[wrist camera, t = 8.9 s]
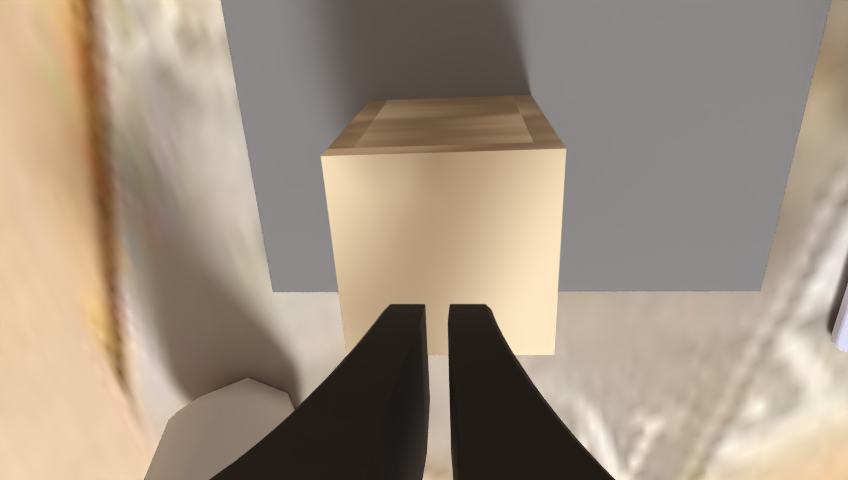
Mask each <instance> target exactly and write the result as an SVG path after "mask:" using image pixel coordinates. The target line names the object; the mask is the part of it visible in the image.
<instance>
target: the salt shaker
mask: <svg viewBox="0 0 848 480" xmlns="http://www.w3.org/2000/svg"><path fill="white" fill-rule="evenodd" d="M294 410H295V409H294V407H293V404H292V402H291V400H290V398H289V395H288V393H287V392H284V391H281V390H279V389H276V388H274V387H271V386H269V385H266V384H264V383H261V382H259V381H256V380H254V379H251V378H248V377H247V378H245V379H242V380H240V381H237V382H235V383H232V384H230V385H227V386H225V387H223V388H220V389H218V390H215V391H213V392H210V393H208V394H206V395H203V396H201V397H198V398H197V399H195V400H194V401H192V402H191V403H189V404H188V405H187V406H185V407H184V408H182V409H181V410H179V411H178V412H177V413H176V414H175V415H174V416H173V417H172V418H171V419H170V420H169V421H168V423H167V426H166V428H165V430H164V433H163V435H162V438H161V440H160V442H159V445H158V447H157V450H156V452H155V454H154V457H153V459H152V462H151V464H150V466H149V469H148V471H147V474H146V476H145V478H144V480H209V479H211V478H212V477H213V476H215V475H216V474H218V473H219V472H220V471H222V470H223V469H225V468H226V467H227V466H229V465H230V464H232V463H233V462H234V461H236V460H237V459H238V458H239V457H241V456H242V455H243V454H245V453H246V452H247V451H248V450H250V449H251V448H252V447H253V446H254V445H256V444H257V443H258V442H259V441H260V440H262V439H263V438H264V437H265V436H267V435H268V434H269V433H270V432H271V431H272V430H273V429H275V428H276V427H277V426H278V425H279V424H280V423H281V422H282V421H283V420H285V419H286V418H287V417H288V416H289V415H290V414H291V413H292V412H293V411H294Z"/></svg>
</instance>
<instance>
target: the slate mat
mask: <svg viewBox="0 0 848 480" xmlns="http://www.w3.org/2000/svg"><path fill="white" fill-rule="evenodd" d="M221 4H222V10H223V16H224V21H225V27H226V32H227V38H228V43H229V49H230V55H231V60H232V66H233V71H234V77H235V83H236V88H237V94H238V99H239V105H240V111H241V116H242V122H243V127H244V133H245V139H246V144H247V150H248V155H249V161H250V167H251V172H252V178H253V183H254V189H255V194H256V200H257V206H258V211H259V217H260V222H261V228H262V234H263V239H264V245H265V250H266V256H267V262H268V267H269V273H270V278H271V284H272V290H273V292H339V291H338V284H337V276H336V268H335V261H334V253H333V246H332V238H331V230H330V223H329V215H328V207H327V200H326V192H325V184H324V177H323V169H322V162H321V155H322V154H323V153H324V152H325V151H326V150H327V149H328V147H329V146H330V145H331V144H332V143H333V142H334V141H335V139H336V138H337V137H338V136H339V135H340V134H341V133H342V132H343V130H344V129H345V128H346V127H347V126H348V125H349V124H350V123H351V121H352V120H353V119H354V118H355V117H356V116H357V115H358V113H359V112H360V111H361V110H362V109H363V108H364V107H365V106H366V104H367V103H368V102H369V101H379V100H405V99H431V98H457V97H482V96H508V95H532V97H533V98H534V100H535V101H536V103H537V104H538V106H539V107H540V109H541V110H542V112H543V114H544V115H545V117H546V118H547V120H548V121H549V123H550V124H551V126H552V127H553V129H554V131H555V132H556V134H557V135H558V137H559V138H560V140H561V141H562V143H563V144H564V146H565V148H566V162H565V179H564V196H563V213H562V230H561V247H560V264H559V281H558V291H761V287H762V283H763V279H764V275H765V271H766V266H767V262H768V258H769V254H770V250H771V246H772V242H773V238H774V234H775V229H776V225H777V221H778V217H779V213H780V209H781V205H782V201H783V197H784V193H785V188H786V184H787V180H788V176H789V172H790V168H791V164H792V160H793V156H794V152H795V147H796V143H797V139H798V135H799V131H800V127H801V123H802V119H803V115H804V110H805V106H806V102H807V98H808V94H809V90H810V86H811V82H812V78H813V74H814V69H815V65H816V61H817V57H818V53H819V49H820V45H821V41H822V37H823V33H824V28H825V24H826V20H827V16H828V12H829V8H830V4H831V0H221Z"/></svg>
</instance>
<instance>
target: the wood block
mask: <svg viewBox="0 0 848 480" xmlns="http://www.w3.org/2000/svg"><path fill="white" fill-rule="evenodd" d="M321 162H322V169H323V177H324V184H325V192H326V200H327V207H328V215H329V223H330V230H331V238H332V246H333V253H334V261H335V268H336V276H337V284H338V291H339V299H340V307H341V314H342V322H343V330H344V337H345V345H346V352H347V355H348V354H349V353H350V352H351V350H352V349H353V348H354V347H355V346H356V345H357V343H358V342H359V341H360V340H361V339H362V337H363V336H364V335H365V334H366V333H367V331H368V330H369V329H370V328H371V326H372V325H373V324H374V322H375V321H376V320H377V319H378V317H379V316H380V315H381V313H382V312H383V311H384V310H385V309H386V308H387V307H388V306H389V305H390V304H425V307H426V328H427V350H428V355H449V353H448V315H449V306H450V304H486V305H487V306H488V307H489V308H490V309H491V310H492V312H493V315H494V317H495V320H496V322H497V324H498V326H499V328H500V330H501V332H502V334H503V336H504V338H505V340H506V341H507V343H508V345H509V347H510V348H511V350H512V352H513V353H514V355H554V349H555V332H556V315H557V298H558V281H559V264H560V247H561V230H562V213H563V196H564V179H565V162H566V148H565V146H564V144H563V143H562V141H561V140H560V138H559V137H558V135H557V134H556V132H555V131H554V129H553V127H552V126H551V124H550V123H549V121H548V120H547V118H546V117H545V115H544V114H543V112H542V110H541V109H540V107H539V106H538V104H537V103H536V101H535V100H534V98H533V97H532V95H508V96H482V97H457V98H431V99H405V100H379V101H369V102H368V103H367V104H366V106H365V107H364V108H363V109H362V110H361V111H360V112H359V113H358V115H357V116H356V117H355V118H354V119H353V120H352V121H351V123H350V124H349V125H348V126H347V127H346V128H345V129H344V130H343V132H342V133H341V134H340V135H339V136H338V137H337V138H336V139H335V141H334V142H333V143H332V144H331V145H330V146H329V147H328V149H327V150H326V151H325V152H324V153H323V154H322V155H321Z"/></svg>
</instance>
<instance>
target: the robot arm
mask: <svg viewBox="0 0 848 480" xmlns="http://www.w3.org/2000/svg"><path fill="white" fill-rule="evenodd" d="M831 341H832V343H833V344H834V345H835V346H836V347H837V348H838V349H840V350H841V351H846V352H848V284H847V288H846V291H845V294H844V297H843V300H842V303H841V306H840V310H839V313H838V316H837V319H836V322H835V325H834V329H833V332H832V335H831ZM448 353H449V389H450V424H451V455H452V468H453V480H615V479H614V478H613V477H612V476H611V475H610V474H609V473H608V472H607V471H606V470H605V469H604V468H603V467H602V466H601V465H600V464H599V463H598V461H597V460H596V459H595V458H594V457H593V456H592V455H591V454H590V453H589V452H588V451H587V450H586V448H585V447H584V446H583V445H582V444H581V443H580V442H579V441H578V440H577V438H576V437H575V436H574V435H573V434H572V433H571V431H570V430H569V429H568V428H567V427H566V425H565V424H564V423H563V422H562V421H561V419H560V418H559V417H558V416H557V414H556V413H555V412H554V410H553V409H552V408H551V407H550V405H549V404H548V403H547V401H546V400H545V399H544V398H543V396H542V395H541V393H540V392H539V391H538V389H537V388H536V387H535V385H534V384H533V382H532V381H531V379H530V378H529V376H528V375H527V373H526V372H525V370H524V369H523V367H522V366H521V364H520V363H519V361H518V360H517V358H516V357H515V355H514V353H513V352H512V350H511V348H510V347H509V345H508V343H507V341H506V340H505V338H504V336H503V334H502V332H501V330H500V328H499V326H498V324H497V322H496V320H495V317H494V315H493V312H492V310H491V309H490V308H489V307H488V306H487V305H486V304H450V306H449V315H448ZM429 404H430V392H429V371H428V350H427V328H426V307H425V304H390V305H389V306H388V307H387V308H386V309H385V310H384V311H383V312H382V313H381V315H380V316H379V317H378V319H377V320H376V321H375V322H374V324H373V325H372V326H371V328H370V329H369V330H368V331H367V333H366V334H365V335H364V336H363V337H362V339H361V340H360V341H359V342H358V343H357V345H356V346H355V347H354V348H353V349H352V350H351V352H350V353H349V354H348V355H347V356H346V357H345V358H344V359H343V361H342V362H341V363H340V364H339V365H338V366H337V367H336V368H335V370H334V371H333V372H332V373H331V374H330V375H329V376H328V377H327V378H326V379H325V380H324V381H323V382H322V383H321V384H320V385H319V386H318V387H317V388H316V389H315V390H314V391H313V392H312V393H311V394H310V395H309V396H308V397H307V398H306V399H305V400H304V401H303V402H302V403H301V404H300V405H299V406H298V407H297V408H296V409H295V410H294V411H293V412H292V413H291V414H290V415H289V416H288V417H287V418H286V419H285V420H283V421H282V422H281V423H280V424H279V425H278V426H277V427H276V428H275V429H273V430H272V431H271V432H270V433H269V434H268V435H267V436H265V437H264V438H263V439H262V440H260V441H259V442H258V443H257V444H256V445H254V446H253V447H252V448H251V449H250V450H248V451H247V452H246V453H245V454H243V455H242V456H241V457H239V458H238V459H237V460H236V461H234V462H233V463H232V464H230V465H229V466H227V467H226V468H225V469H223V470H222V471H220V472H219V473H218V474H216V475H215V476H213V477H212V478H211V479H209V480H422V479H423V473H424V467H425V460H426V454H427V441H428V424H429Z"/></svg>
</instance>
